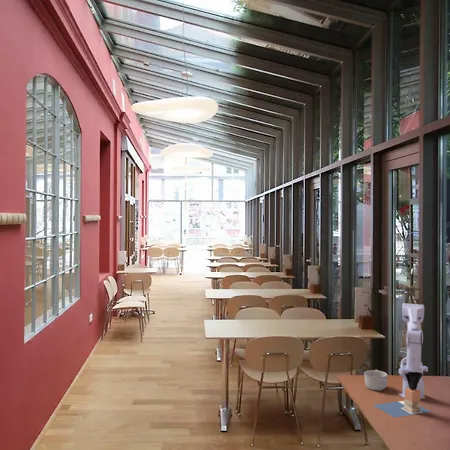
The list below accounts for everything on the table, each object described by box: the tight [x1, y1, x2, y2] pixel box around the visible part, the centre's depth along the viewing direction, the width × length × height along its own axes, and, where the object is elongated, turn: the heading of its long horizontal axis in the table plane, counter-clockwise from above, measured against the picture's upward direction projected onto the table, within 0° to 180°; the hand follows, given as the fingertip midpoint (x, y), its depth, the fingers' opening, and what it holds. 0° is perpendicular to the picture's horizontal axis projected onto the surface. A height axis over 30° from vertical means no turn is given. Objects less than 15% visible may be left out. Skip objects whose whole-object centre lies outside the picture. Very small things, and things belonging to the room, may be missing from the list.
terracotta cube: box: [404, 388, 421, 402], centre depth 211 cm, size 4×4×4 cm
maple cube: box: [403, 398, 421, 413], centre depth 211 cm, size 4×4×4 cm
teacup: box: [363, 369, 388, 392], centre depth 240 cm, size 14×11×8 cm
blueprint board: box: [373, 400, 432, 418], centre depth 213 cm, size 20×14×1 cm
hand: (412, 388), depth 211 cm, fingers closed
